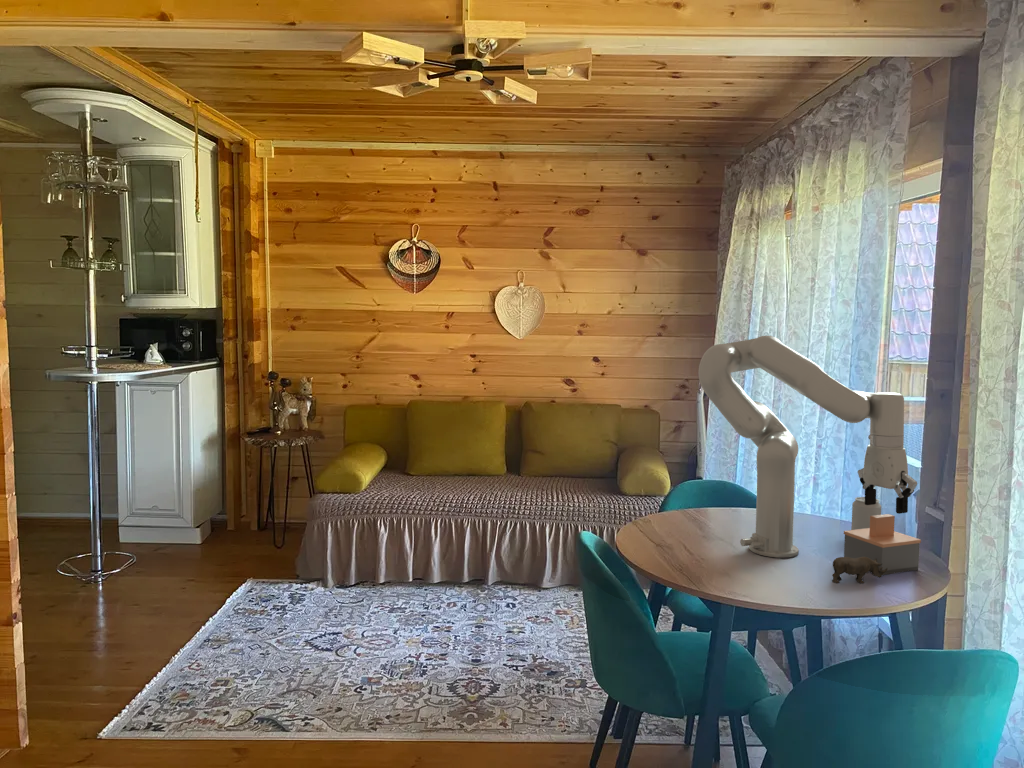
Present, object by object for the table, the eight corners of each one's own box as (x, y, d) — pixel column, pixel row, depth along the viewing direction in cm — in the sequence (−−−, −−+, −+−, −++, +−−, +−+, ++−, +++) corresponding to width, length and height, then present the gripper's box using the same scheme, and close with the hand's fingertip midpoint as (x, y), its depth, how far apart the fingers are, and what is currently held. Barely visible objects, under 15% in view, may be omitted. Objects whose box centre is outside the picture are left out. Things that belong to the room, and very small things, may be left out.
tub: (881, 575, 178) (882, 547, 178) (843, 560, 189) (844, 534, 189) (918, 570, 182) (919, 542, 182) (879, 555, 193) (880, 530, 193)
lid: (882, 551, 177) (883, 524, 177) (843, 537, 189) (844, 512, 188) (920, 546, 182) (921, 520, 181) (880, 533, 193) (881, 508, 193)
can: (877, 545, 203) (878, 503, 202) (848, 540, 207) (849, 499, 206) (882, 539, 209) (884, 498, 208) (854, 534, 213) (855, 494, 212)
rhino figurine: (892, 584, 172) (893, 559, 172) (834, 584, 172) (835, 559, 172) (883, 578, 176) (884, 554, 176) (826, 578, 176) (827, 554, 176)
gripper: (848, 438, 190) (847, 502, 191) (904, 447, 174) (903, 518, 175) (870, 436, 193) (869, 500, 194) (927, 445, 176) (926, 514, 177)
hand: (885, 508), depth 184 cm, fingers open, 9 cm apart
